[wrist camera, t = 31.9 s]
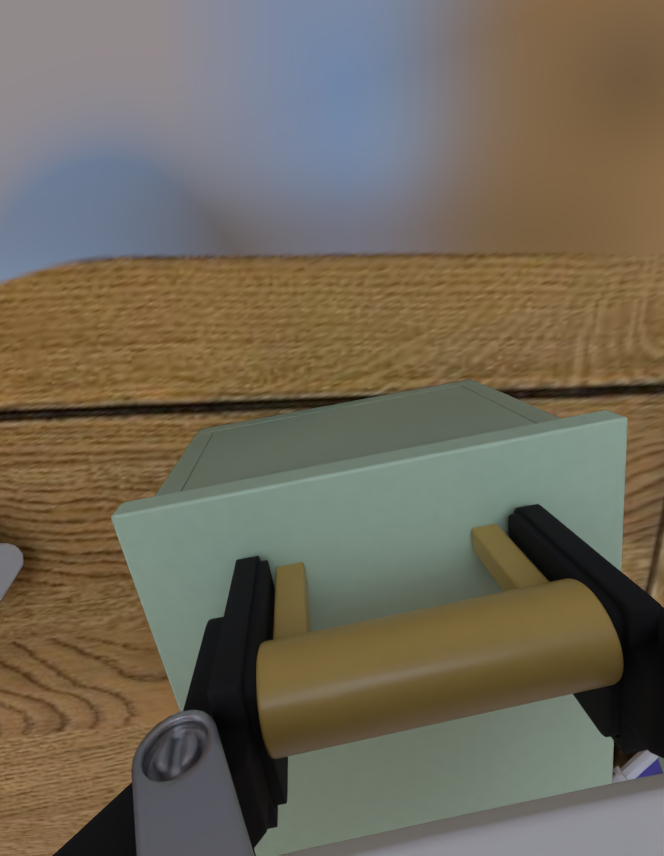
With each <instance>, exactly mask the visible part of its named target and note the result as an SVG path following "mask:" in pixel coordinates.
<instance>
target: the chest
mask: <svg viewBox="0 0 664 856" xmlns="http://www.w3.org/2000/svg"><path fill="white" fill-rule="evenodd" d="M557 419H561V418H559V417H556V416H554V415H552V414H549V413H547V412H545V411H543V410H540V409H538V408H536V407H534V406H531V405H529V404H527V403H524V402H522V401H520V400H518V399H515V398H513V397H511V396H509V395H506V394H504V393H502V392H499V391H497V390H495V389H493V388H490V387H488V386H486V385H484V384H481V383H479V382H476V381H474V380H471V379H469V380H464V381H458V382H453V383H448V384H442V385H437V386H432V387H426V388H421V389H415V390H410V391H405V392H399V393H394V394H388V395H383V396H378V397H372V398H367V399H361V400H356V401H351V402H345V403H340V404H334V405H329V406H324V407H318V408H313V409H307V410H302V411H297V412H291V413H286V414H280V415H275V416H270V417H264V418H259V419H253V420H248V421H243V422H237V423H232V424H227V425H221V426H216V427H210V428H205V429H200V430H199V432H198V433H197V435H196V436H195V437H194V439H193V440H192V442H191V443H190V445H189V446H188V448H187V449H186V450H185V452H184V453H183V455H182V456H181V458H180V459H179V461H178V462H177V464H176V465H175V467H174V468H173V470H172V471H171V473H170V474H169V476H168V477H167V479H166V480H165V482H164V483H163V485H162V486H161V488H160V489H159V491H158V492H157V494H156V495H155V496H160V495H165V494H171V493H176V492H181V491H186V490H191V489H197V488H202V487H207V486H212V485H218V484H223V483H228V482H233V481H239V480H244V479H249V478H254V477H259V476H265V475H270V474H275V473H280V472H286V471H291V470H296V469H301V468H306V467H312V466H317V465H322V464H327V463H333V462H338V461H343V460H348V459H354V458H359V457H364V456H369V455H374V454H380V453H385V452H390V451H395V450H401V449H406V448H411V447H416V446H422V445H427V444H432V443H437V442H442V441H448V440H453V439H458V438H463V437H469V436H474V435H479V434H484V433H489V432H495V431H500V430H505V429H510V428H516V427H521V426H526V425H531V424H537V423H542V422H547V421H552V420H557Z"/></svg>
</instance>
